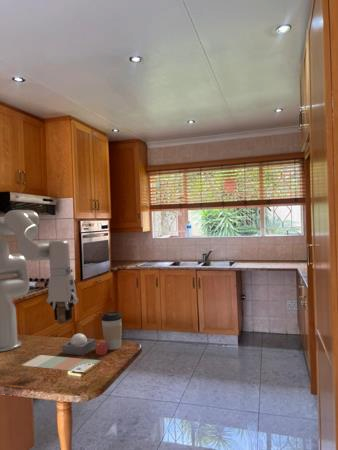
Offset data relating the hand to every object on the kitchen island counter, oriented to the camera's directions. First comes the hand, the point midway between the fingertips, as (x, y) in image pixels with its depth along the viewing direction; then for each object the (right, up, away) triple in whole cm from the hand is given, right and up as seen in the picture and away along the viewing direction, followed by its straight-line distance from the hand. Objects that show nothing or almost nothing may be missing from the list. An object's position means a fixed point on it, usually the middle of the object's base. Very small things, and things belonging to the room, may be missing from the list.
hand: (63, 318), depth 137 cm
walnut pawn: (0, -1, 0) cm, 1 cm away
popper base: (+3, -18, +14) cm, 23 cm away
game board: (-1, -18, +1) cm, 18 cm away
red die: (+13, -17, +11) cm, 24 cm away
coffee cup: (+17, -17, +18) cm, 30 cm away
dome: (+3, -17, +14) cm, 23 cm away
